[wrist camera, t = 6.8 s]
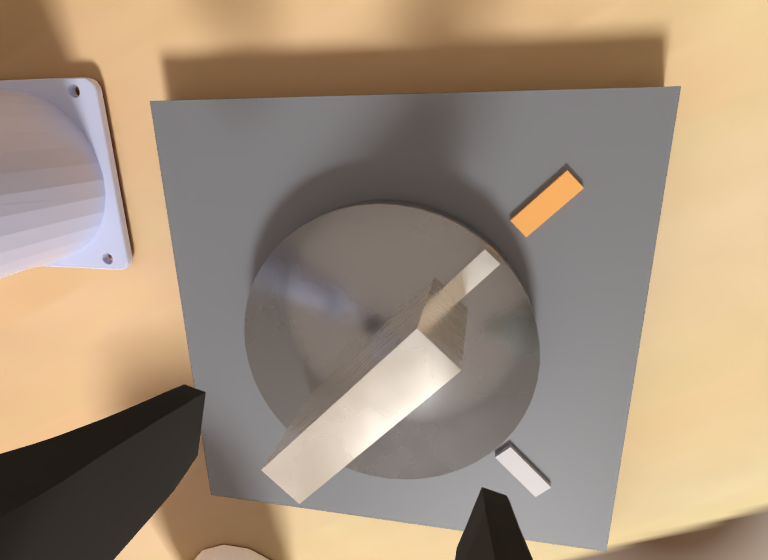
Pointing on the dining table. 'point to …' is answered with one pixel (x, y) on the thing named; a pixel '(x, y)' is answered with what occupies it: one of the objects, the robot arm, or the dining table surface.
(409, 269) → the dial
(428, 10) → the dining table surface
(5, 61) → the dining table surface
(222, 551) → the white cup
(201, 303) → the dial base
